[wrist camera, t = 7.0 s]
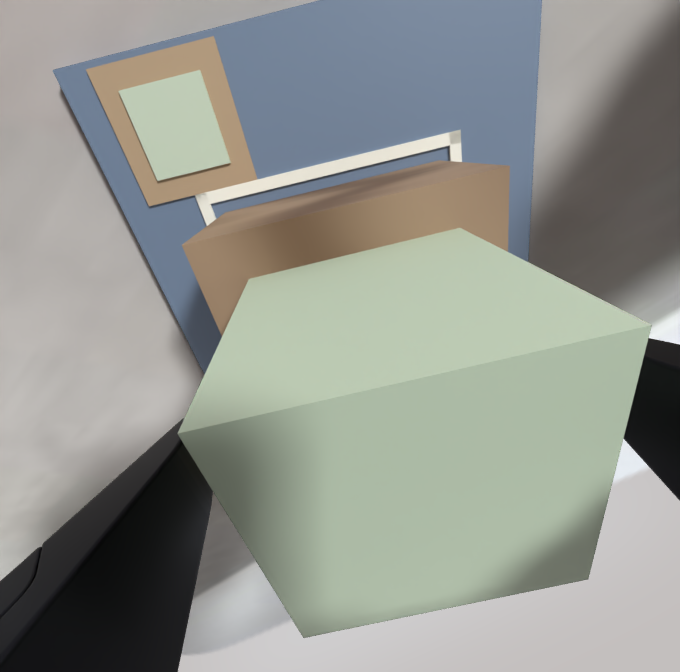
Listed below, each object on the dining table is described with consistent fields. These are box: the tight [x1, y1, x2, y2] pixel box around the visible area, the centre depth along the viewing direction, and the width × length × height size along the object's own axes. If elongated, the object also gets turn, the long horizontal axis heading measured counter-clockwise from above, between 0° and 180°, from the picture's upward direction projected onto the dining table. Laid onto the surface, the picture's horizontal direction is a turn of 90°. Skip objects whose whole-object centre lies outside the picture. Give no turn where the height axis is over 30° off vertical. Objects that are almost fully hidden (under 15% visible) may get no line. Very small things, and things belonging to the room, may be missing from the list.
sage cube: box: [177, 228, 652, 638], centre depth 8 cm, size 6×6×6 cm
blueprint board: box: [53, 0, 542, 375], centre depth 15 cm, size 15×18×1 cm
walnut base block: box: [182, 160, 510, 336], centre depth 12 cm, size 8×8×5 cm
